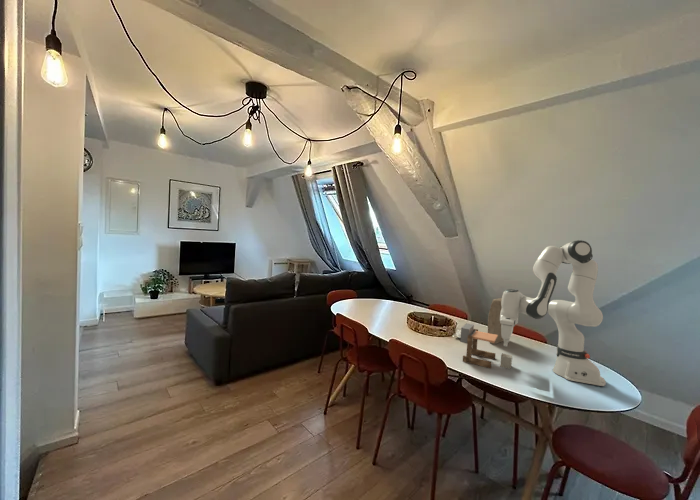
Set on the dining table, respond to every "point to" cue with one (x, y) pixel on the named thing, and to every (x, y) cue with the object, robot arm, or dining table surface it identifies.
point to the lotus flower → (458, 333)
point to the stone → (506, 361)
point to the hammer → (476, 334)
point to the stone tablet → (495, 320)
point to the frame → (477, 353)
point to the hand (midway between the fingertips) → (506, 343)
